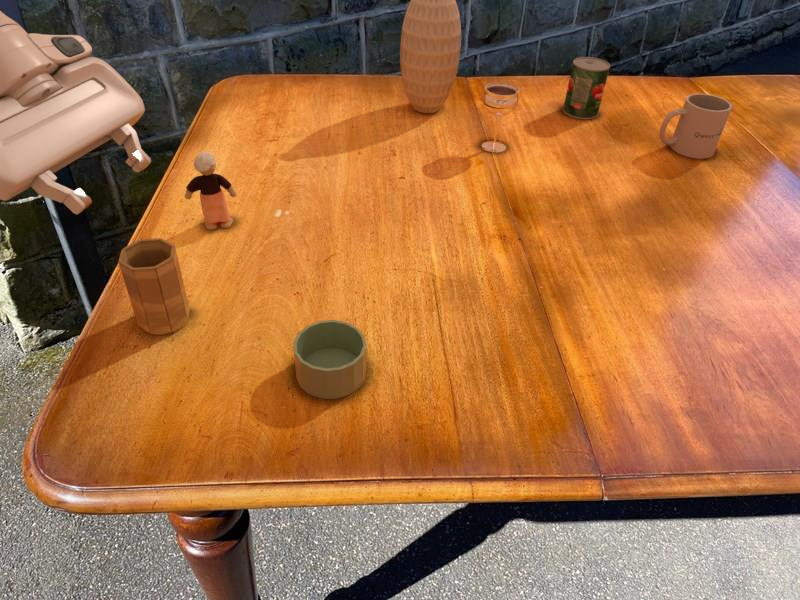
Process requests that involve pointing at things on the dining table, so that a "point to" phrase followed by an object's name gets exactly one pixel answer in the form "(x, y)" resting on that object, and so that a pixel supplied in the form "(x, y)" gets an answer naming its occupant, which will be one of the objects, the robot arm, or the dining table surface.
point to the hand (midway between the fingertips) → (116, 186)
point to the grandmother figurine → (211, 191)
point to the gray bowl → (330, 359)
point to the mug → (698, 125)
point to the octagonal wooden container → (155, 285)
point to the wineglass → (499, 108)
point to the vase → (430, 52)
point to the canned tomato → (586, 87)
